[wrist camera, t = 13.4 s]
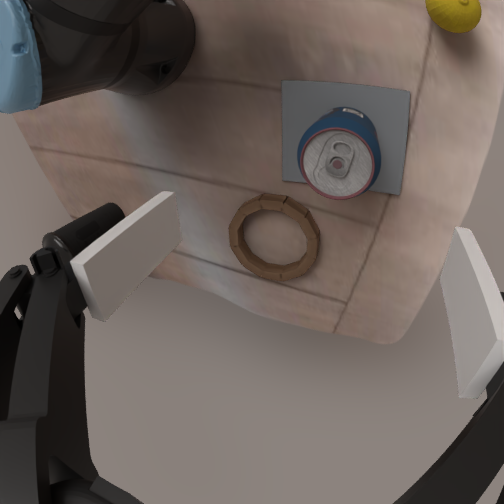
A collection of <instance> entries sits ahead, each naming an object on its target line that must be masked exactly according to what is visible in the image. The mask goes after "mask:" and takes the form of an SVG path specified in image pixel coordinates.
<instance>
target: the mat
mask: <svg viewBox="0 0 504 504" xmlns="http://www.w3.org/2000/svg"><path fill="white" fill-rule="evenodd" d="M281 84H282V180H283V181H294V182H304V183H307V182H306V181H305V179H304V178H303V176H302V174H301V172H300V169H299V166H298V161H297V150H298V145H299V142H300V140H301V138H302V136H303V134H304V133H305V132H306V130H307V129H308V128H309V127H310V126H311V125H312V124H313V123H314V122H315V121H316V120H317V119H318V118H319V117H320V116H322V115H323V114H324V113H325V112H327V111H328V110H330V109H333V108H336V107H351V108H354V109H357V110H359V111H361V112H362V113H364V114H365V115H366V116H367V117H368V118H369V119H370V120H371V121H372V123H373V125H374V127H375V129H376V132H377V137H378V142H379V147H380V152H381V169H380V172H379V175H378V177H377V179H376V181H375V183H374V184H373V185H372V186H371V187H370V188H369V189H368V190H369V191H376V192H383V193H390V194H396V195H400V189H401V182H402V175H403V168H404V159H405V151H406V141H407V130H408V118H409V103H410V91H404V90H398V89H391V88H384V87H376V86H368V85H358V84H348V83H336V82H320V81H295V80H281Z"/></svg>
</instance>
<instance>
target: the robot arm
mask: <svg viewBox="0 0 504 504" xmlns="http://www.w3.org/2000/svg"><path fill="white" fill-rule="evenodd" d="M194 41H195V26H194V21H193V17H192V15H191V12H190V10H189V8H188V7H187V5H186V4H185V3H184V2H183V1H182V0H0V112H2V113H7V114H8V113H9V114H11V113H15V112H19V111H24V110H29V109H30V110H33V109H36V108H38V106H41V105H44V104H47V103H50V102H54V101H57V100H61V99H64V98H68V97H72V96H76V95H80V94H84V93H88V92H92V91H96V90H100V89H106V90H110V91H114V92H118V93H122V94H126V95H143V94H148V93H152V92H156V91H159V90H161V89H163V88H165V87H166V86H168V85H169V84H171V83H172V82H173V81H174V80H175V79H176V78H177V77H178V76H179V75H180V74H181V73H182V71H183V70H184V68H185V67H186V65H187V63H188V61H189V59H190V57H191V54H192V51H193V47H194ZM181 241H182V235H181V229H180V223H179V216H178V209H177V202H176V196H175V192H167V191H162V192H160V193H159V194H158V195H156V196H155V197H153V198H152V199H151V200H149V201H148V202H146V203H145V204H144V205H142V206H141V207H139V208H138V209H137V210H135V211H134V212H132V213H131V214H130V215H128V216H127V217H126V218H124V219H123V220H122V221H120V222H119V223H118V224H116V225H115V226H114V227H112V228H111V229H110V230H108V231H107V232H106V233H105V234H103V235H102V236H101V237H99V238H97V239H96V240H95V241H93V242H92V243H91V244H90V245H88V246H87V247H86V248H85V249H84V250H82V251H81V252H80V253H78V254H77V255H76V256H75V257H74V258H72V259H71V260H70V261H69V262H68V263H66V264H65V265H63V262H62V259H61V256H60V254H59V251H58V248H57V247H55V246H48V247H44V248H41V249H40V250H38V251H36V252H35V253H34V254H32V256H31V257H30V261H31V264H32V266H33V268H34V271H35V273H36V275H31V274H30V272H29V269H28V267H27V266H26V265H19V266H15V267H13V268H11V269H10V270H9V271H8V272H7V273H6V274H5V275H4V277H3V278H2V280H1V281H0V504H144V503H142V502H140V501H139V500H138V499H136V498H135V497H134V496H132V495H131V494H129V493H128V492H126V491H124V490H122V489H120V488H118V487H117V486H115V485H113V484H111V483H109V482H108V481H106V480H105V479H103V478H101V477H100V476H99V474H98V472H97V470H96V468H95V466H94V464H93V462H92V460H91V456H90V448H89V438H88V428H87V416H86V400H85V371H84V341H85V339H84V337H85V316H84V313H83V310H84V309H85V308H86V307H88V309H89V311H90V313H91V316H92V317H93V318H95V319H98V320H100V321H103V322H106V320H108V319H109V317H110V316H111V315H112V314H113V313H114V312H115V311H116V309H118V307H119V306H120V305H121V304H122V303H123V302H124V301H125V300H126V299H127V298H128V297H129V296H130V294H131V293H132V292H133V291H134V290H135V289H136V288H137V287H138V286H139V284H141V283H142V282H143V281H144V279H145V278H146V277H147V276H148V275H149V274H150V273H151V272H152V271H153V270H154V269H155V268H156V267H157V266H158V265H159V264H160V263H161V262H162V261H163V260H164V259H165V258H166V256H167V255H168V254H169V253H170V252H171V251H172V250H173V249H174V248H175V247H176V246H177V245H178V244H179V243H180V242H181ZM440 282H441V287H442V291H443V295H444V300H445V305H446V310H447V314H448V320H449V326H450V331H451V337H452V343H453V350H454V357H455V365H456V373H457V383H458V393H459V398H473V399H475V398H476V399H478V398H479V396H480V395H481V394H482V392H483V391H484V390H485V388H486V391H487V399H486V400H485V401H484V403H483V404H482V405H481V406H480V408H479V409H478V410H477V411H476V412H475V413H474V415H473V418H472V419H471V420H470V422H469V423H468V424H467V425H466V427H465V428H464V429H463V431H462V432H461V433H460V434H459V435H458V437H457V438H456V439H455V440H454V442H453V443H452V444H451V445H450V446H449V447H448V449H447V450H446V451H445V452H444V453H443V454H442V455H441V457H440V458H439V459H438V460H437V461H436V462H435V463H434V464H433V465H432V466H431V467H430V468H429V469H428V471H427V472H426V473H425V474H424V475H423V476H422V477H421V478H420V479H419V480H418V481H417V482H416V483H415V484H414V485H413V486H412V487H410V488H409V489H408V490H407V491H406V492H405V493H404V494H403V495H402V496H401V497H400V498H399V499H398V500H396V501H395V502H394V503H393V504H476V502H477V501H478V500H479V498H480V497H481V496H482V494H483V493H484V491H485V490H486V489H487V487H488V486H489V485H490V483H491V482H492V480H493V479H494V477H495V476H496V474H497V473H498V472H499V470H500V468H501V467H502V465H503V464H504V292H499V289H498V287H497V285H496V282H495V280H494V277H493V275H492V273H491V271H490V268H489V266H488V264H487V262H486V260H485V258H484V256H483V254H482V251H481V250H480V247H479V245H478V244H477V242H476V240H475V238H474V236H473V234H472V232H471V230H470V229H466V228H461V227H456V226H455V229H454V233H453V236H452V240H451V244H450V247H449V251H448V254H447V257H446V260H445V264H444V267H443V270H442V273H441V276H440ZM16 306H17V308H18V310H19V312H20V314H21V315H22V316H21V318H20V319H18V318H17V316H16V314H15V312H14V310H15V308H16ZM496 504H504V486H503V488H502V491H501V493H500V496H499V498H498V500H497V503H496Z"/></svg>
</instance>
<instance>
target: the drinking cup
mask: <svg viewBox="0 0 504 504" xmlns="http://www.w3.org/2000/svg"><path fill="white" fill-rule="evenodd" d="M124 218H125V217H124V214H123V212H122V210H121V209H120V207H119V206H117V205H116V204H114V203H107V204H105V205H103V206H101V207H99V208H97V209H95V210H94V211H92V212H90V213H88V214H86V215H84V216H82V217H80V218H78V219H76V220H74V221H73V222H71V223H69V224H67V225H65V226H64V227H62V228H60V229H58V230H56V231H54V232H51V233H47V234H46V235H45V236H44V237H43V241H42V245H43V248H44V247H48V246H55V247H57V248H58V251H59V254H60V256H61V259H62V262H63V265H65V264H66V263H68V262H69V261H70V260H71V259H72V258H74V257H75V256H76V255H77V254H78V253H80V252H81V251H82V250H84V249H85V248H86V247H87V246H88V245H90V244H91V243H92V242H93V241H95V240H96V239H97V238H99V237H101V236H102V235H103V234H105V233H106V232H107V231H108V230H110V229H111V228H112V227H114V226H115V225H116V224H118V223H119V222H120V221H122V220H123V219H124ZM34 275H36V273H35V274H34Z"/></svg>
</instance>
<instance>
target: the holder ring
mask: <svg viewBox="0 0 504 504" xmlns="http://www.w3.org/2000/svg"><path fill="white" fill-rule="evenodd" d="M260 209H267V210H276V211H282V212H283V213H285V214H286V215H288V216H289V217H291V218H293V219H294V220H296V221H297V222H298V223H299V224H300V226H301V228H302V230H303V232H304V233H305V235H306V237H307V239H308V243H307V252H306V253H305V255H304V256H303V257H302V258H301V260H300V261H297V262H294V263H291V264H288V265H285V266H283V265H276V264H270V263H266V262H265V261H263V260H262V259H260V258H259V257H257V256H256V255H254V254H253V253H252V252H251V250H250V249H249V247H248V245H247V244H246V242H245V241H244V239H243V222H244V220H245V218H246V217H247V215H249V214H251V213H253V212H256V211H258V210H260ZM319 236H320V232H319V228H318V226H317V224H316V223H315V221H314V219H313V217H312V215H311V213H310V211H308V209H307V208H305V207H304V206H302V205H301V204H299V203H298V202H296V201H295V200H293V199H292V198H290V197H288V198H287V196H283V195H273V194H264V195H263V194H262V195H260V196H257V197H255V198H253V199H251V200H249V201H247V202H245V203H244V204H243V205H242V206H241V207H240V208H239V209H238V211H237V213H236V214H235V216H234V218H233V220H232V221H231V223H230V225H229V238H230V246H231V249H232V251H233V252H234V254H235V255H236V257H237V258H238V260H239V261H240V263H241V265H242V264H243V266H244V267H245V268H247V269H248V270H250V271H251V272H253V273H254V274H256V275H258V276H259V277H261V276H262V278H266V279H271V280H277V281H282V280H283V281H286V280H289V279H292V278H295V277H299V276H302V274H304V273H305V272H306V271H307V270H308V268H309V267H310V266H311V265H312V264H313V263H314V261H315V260H316V257H317V254H318V248H319Z"/></svg>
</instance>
